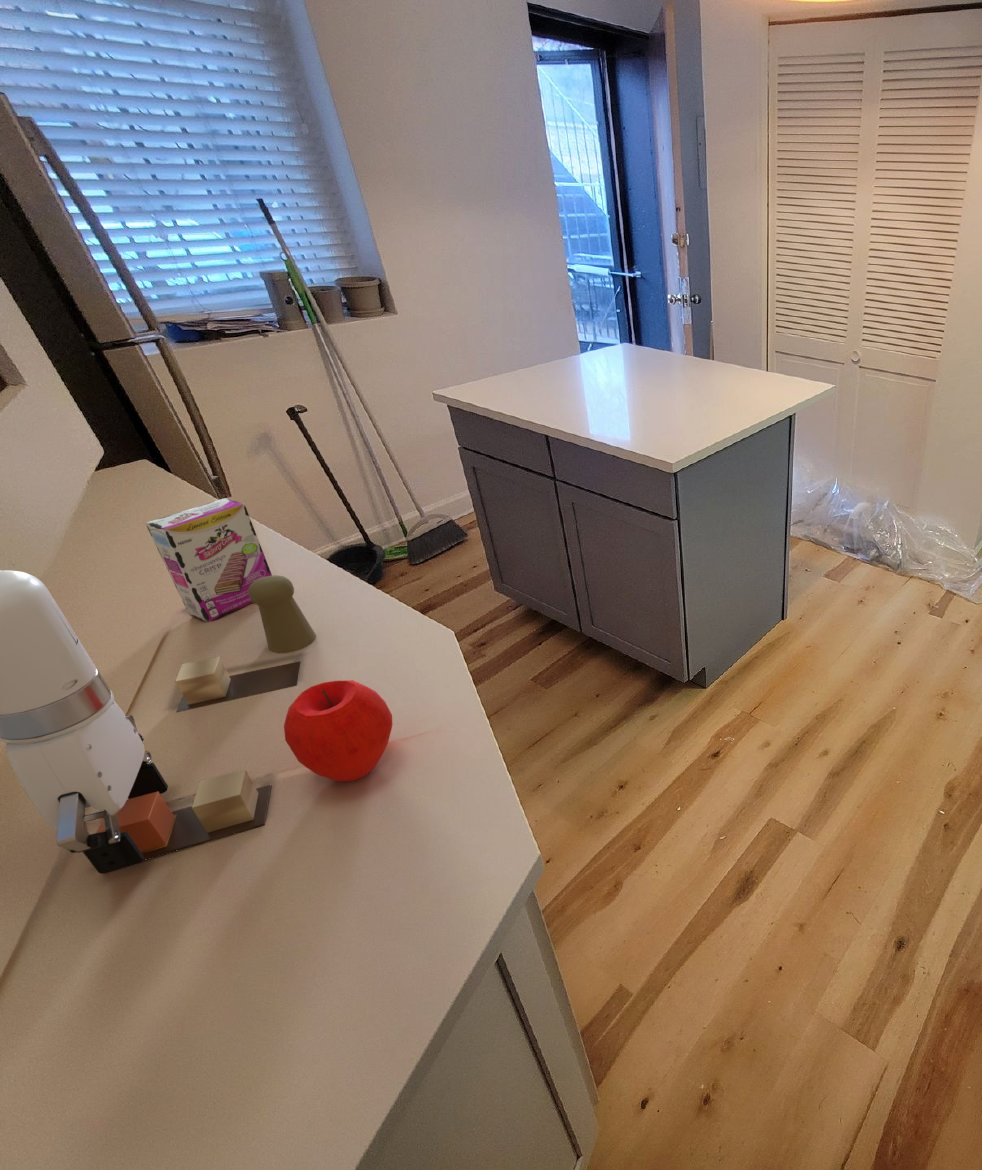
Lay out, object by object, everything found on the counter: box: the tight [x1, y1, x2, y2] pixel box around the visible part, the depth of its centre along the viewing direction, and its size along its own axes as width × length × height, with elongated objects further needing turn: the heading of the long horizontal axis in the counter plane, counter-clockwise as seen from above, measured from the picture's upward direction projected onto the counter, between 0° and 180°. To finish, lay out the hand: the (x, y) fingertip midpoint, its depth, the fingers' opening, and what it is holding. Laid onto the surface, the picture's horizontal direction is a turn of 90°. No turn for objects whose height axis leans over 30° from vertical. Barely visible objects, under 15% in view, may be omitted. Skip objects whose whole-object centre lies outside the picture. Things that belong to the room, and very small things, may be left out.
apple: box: [283, 679, 393, 782], centre depth 73 cm, size 10×10×12 cm
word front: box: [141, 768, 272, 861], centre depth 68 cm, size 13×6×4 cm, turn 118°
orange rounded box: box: [95, 792, 175, 852], centre depth 66 cm, size 4×4×4 cm
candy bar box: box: [144, 497, 273, 623], centre depth 100 cm, size 11×5×16 cm, turn 159°
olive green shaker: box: [248, 574, 317, 654], centre depth 94 cm, size 6×6×11 cm
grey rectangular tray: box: [174, 656, 302, 713], centre depth 87 cm, size 13×6×4 cm, turn 118°
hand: (137, 828), depth 66 cm, fingers open, 9 cm apart
